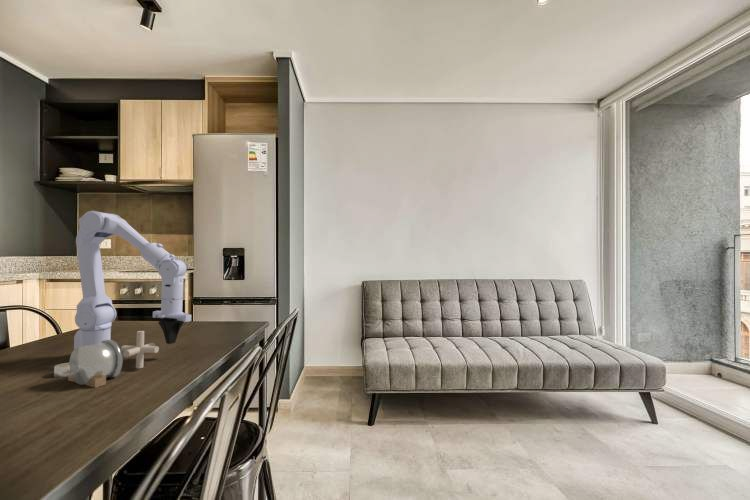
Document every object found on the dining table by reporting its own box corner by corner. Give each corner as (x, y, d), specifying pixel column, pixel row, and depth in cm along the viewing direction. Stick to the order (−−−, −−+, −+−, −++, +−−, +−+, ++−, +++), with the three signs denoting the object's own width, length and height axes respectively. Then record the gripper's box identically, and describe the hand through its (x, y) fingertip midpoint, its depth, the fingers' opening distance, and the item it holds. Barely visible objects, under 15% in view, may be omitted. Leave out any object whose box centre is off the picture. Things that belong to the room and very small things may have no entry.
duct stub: (66, 382, 91) (67, 343, 91) (97, 374, 98) (98, 337, 98) (93, 389, 87) (94, 348, 87) (123, 380, 93) (124, 341, 93)
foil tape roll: (49, 375, 95) (49, 365, 95) (71, 370, 100) (72, 360, 100) (60, 378, 93) (61, 368, 93) (83, 372, 98) (83, 363, 98)
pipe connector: (143, 373, 97) (144, 335, 97) (108, 372, 98) (109, 334, 98) (168, 363, 107) (169, 328, 107) (136, 362, 108) (137, 328, 108)
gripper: (143, 298, 111) (142, 343, 111) (177, 301, 106) (175, 349, 105) (165, 296, 118) (163, 338, 118) (197, 299, 112) (196, 343, 112)
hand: (170, 343), depth 112 cm, fingers closed
